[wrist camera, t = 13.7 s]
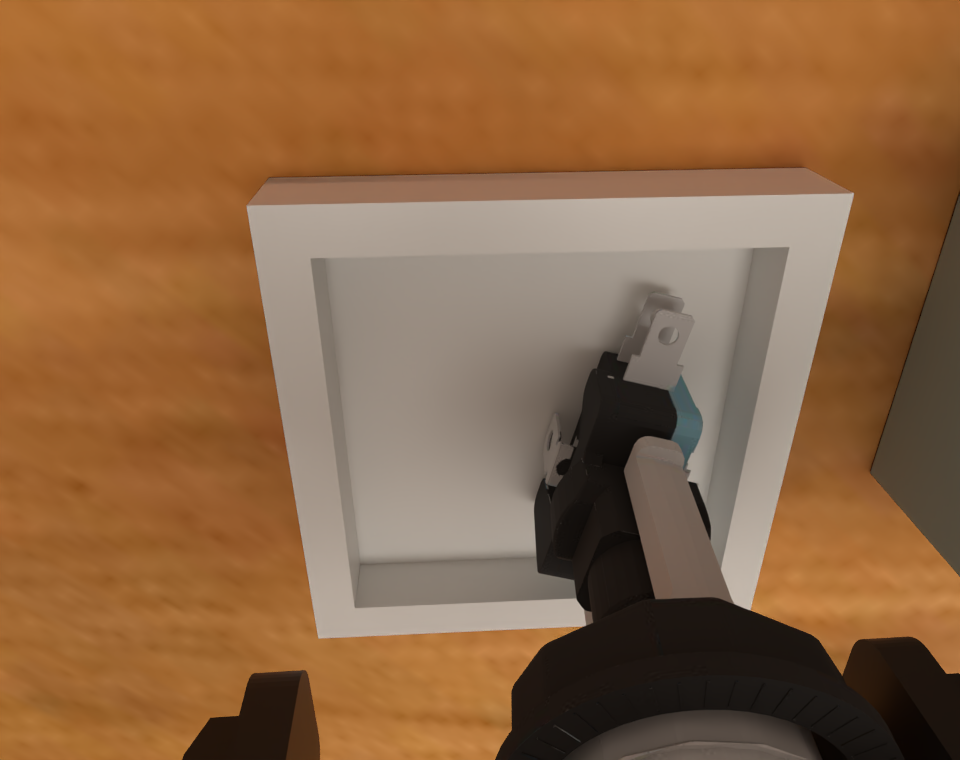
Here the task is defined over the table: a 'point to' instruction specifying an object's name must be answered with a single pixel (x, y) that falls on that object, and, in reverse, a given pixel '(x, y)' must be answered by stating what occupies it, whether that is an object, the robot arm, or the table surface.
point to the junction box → (930, 414)
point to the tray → (521, 365)
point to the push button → (663, 597)
